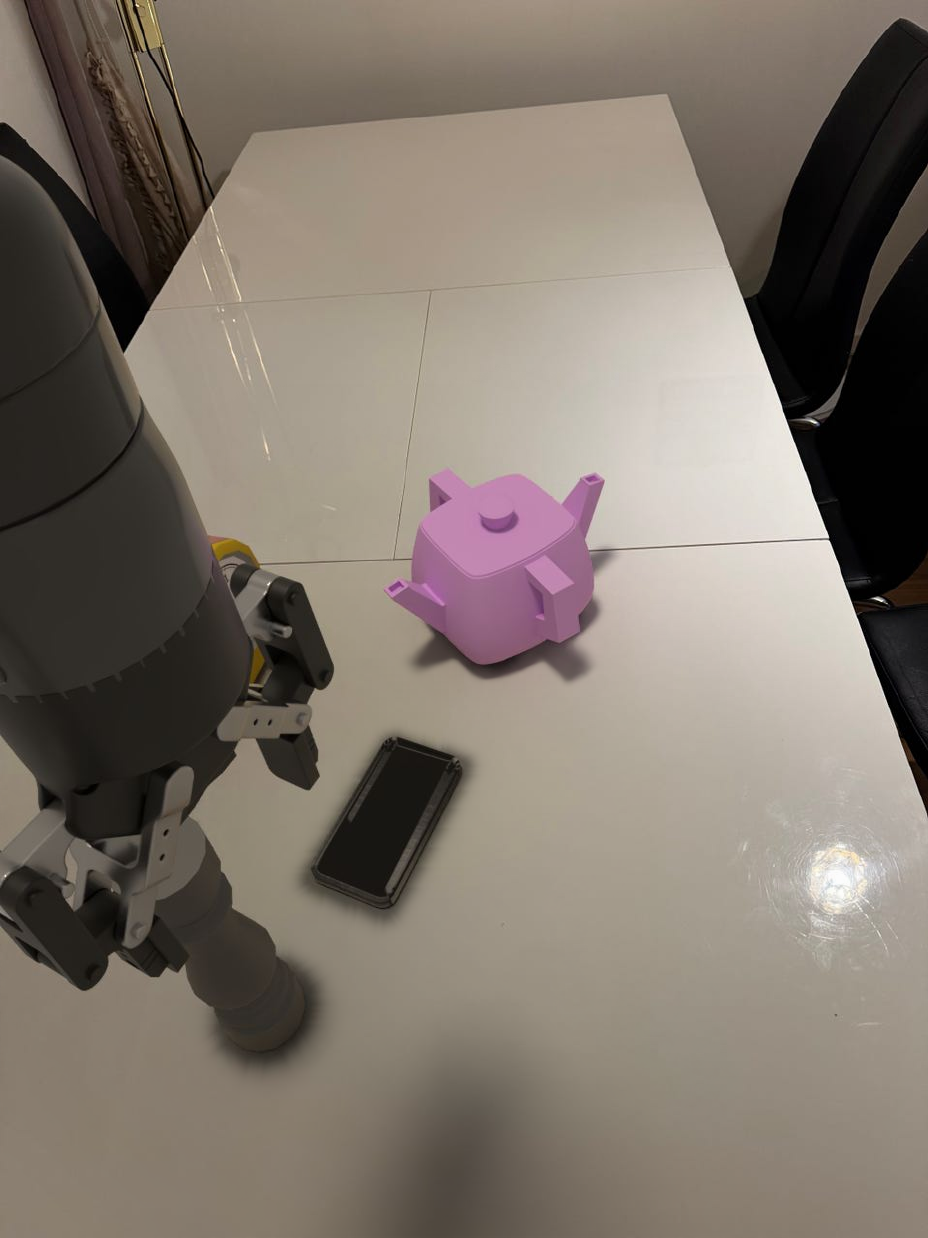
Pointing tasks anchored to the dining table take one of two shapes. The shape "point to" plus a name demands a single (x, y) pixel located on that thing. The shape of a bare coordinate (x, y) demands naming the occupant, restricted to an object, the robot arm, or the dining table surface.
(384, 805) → the phone
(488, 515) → the teapot
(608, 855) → the dining table surface
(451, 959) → the dining table surface
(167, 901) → the candle holder
